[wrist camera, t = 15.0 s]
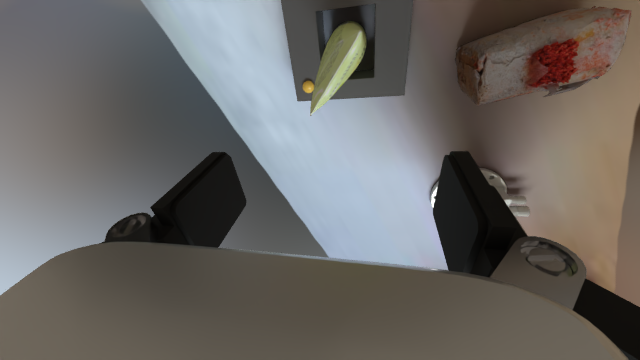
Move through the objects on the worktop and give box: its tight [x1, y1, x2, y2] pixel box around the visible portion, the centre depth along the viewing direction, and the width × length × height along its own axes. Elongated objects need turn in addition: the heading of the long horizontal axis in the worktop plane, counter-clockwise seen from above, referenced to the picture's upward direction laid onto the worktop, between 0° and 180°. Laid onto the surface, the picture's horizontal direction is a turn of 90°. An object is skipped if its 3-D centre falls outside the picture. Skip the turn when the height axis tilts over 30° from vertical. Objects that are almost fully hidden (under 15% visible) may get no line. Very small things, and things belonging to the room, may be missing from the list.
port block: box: [281, 0, 413, 101], centre depth 32 cm, size 15×13×5 cm
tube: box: [310, 21, 367, 116], centre depth 27 cm, size 6×5×20 cm
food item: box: [455, 6, 631, 106], centre depth 28 cm, size 14×8×10 cm, turn 111°
